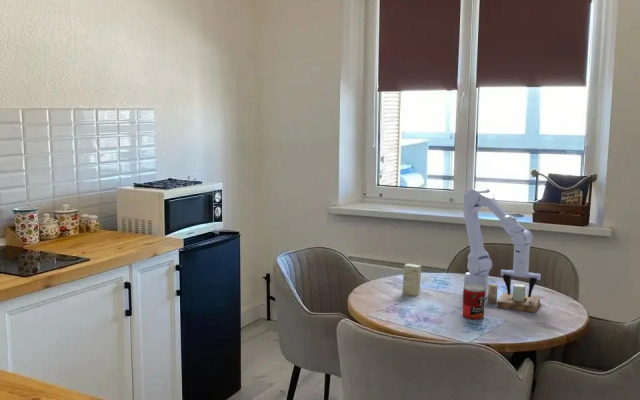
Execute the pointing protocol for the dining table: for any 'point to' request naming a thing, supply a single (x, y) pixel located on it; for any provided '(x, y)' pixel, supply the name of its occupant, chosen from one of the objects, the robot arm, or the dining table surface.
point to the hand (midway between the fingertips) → (519, 295)
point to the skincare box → (411, 279)
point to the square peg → (519, 292)
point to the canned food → (473, 301)
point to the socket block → (518, 303)
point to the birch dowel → (492, 293)
